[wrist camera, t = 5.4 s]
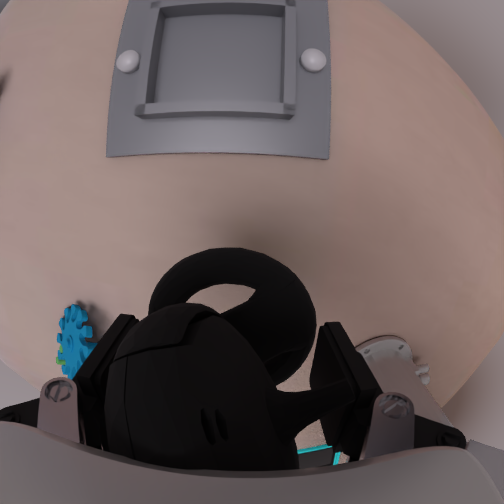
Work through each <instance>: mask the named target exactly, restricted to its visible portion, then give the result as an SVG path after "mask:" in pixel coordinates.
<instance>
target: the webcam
mask: <svg viewBox="0 0 504 504" xmlns="http://www.w3.org/2000/svg"><path fill="white" fill-rule="evenodd" d="M218 284H236V285H245V286H248V287H251V288H254V289H255V290H256V291H255V293H254V294H253V295H252V296H251V297H250V298H249V300H248V301H246V302H244V303H242V304H240V305H238V306H236V307H234V308H232V309H230V310H228V311H226V312H223V313H221V314H219V313H218V312H216V311H215V310H214V309H212V308H210V307H208V306H205V305H203V304H196V303H186V301H187V300H188V299H189V298H190V297H191V296H192V295H194V294H195V293H197V292H198V291H200V290H202V289H205V288H208V287H210V286H213V285H218ZM316 326H317V324H316V313H315V309H314V306H313V303H312V301H311V298H310V295H309V293H308V291H307V290H306V288H305V286H304V285H303V283H302V282H301V281H300V279H299V278H298V277H297V276H296V275H295V273H293V272H292V271H291V270H290V269H289V268H288V267H286V266H285V265H283V264H282V263H280V262H279V261H277V260H275V259H273V258H271V257H269V256H267V255H265V254H263V253H259V252H256V251H252V250H248V249H243V248H215V249H208V250H205V251H202V252H199V253H196V254H193V255H191V256H189V257H186V258H184V259H183V260H181V261H180V262H178V263H177V264H175V265H174V266H173V267H172V268H171V269H170V270H169V271H168V272H166V273H165V274H164V276H163V277H162V278H161V280H160V281H159V282H158V284H157V286H156V287H155V289H154V292H153V294H152V296H151V300H150V304H149V311H148V316H147V317H145V318H144V319H142V320H141V321H139V322H138V323H137V324H136V325H134V326H133V327H132V328H131V329H130V330H129V332H128V333H127V335H126V336H125V338H124V339H123V341H122V342H121V344H120V346H119V347H118V349H117V352H116V355H115V358H114V361H113V363H112V364H111V365H110V368H109V374H108V381H107V388H106V396H105V404H104V410H103V413H102V416H101V423H100V437H101V444H102V448H103V451H106V452H110V453H113V454H117V455H121V456H125V457H127V458H130V459H132V460H136V461H140V462H143V463H148V464H152V465H157V466H163V467H168V468H175V469H185V470H203V469H206V470H220V471H281V470H296V469H300V467H299V457H298V452H297V446H296V443H295V439H294V438H295V437H296V436H297V434H298V433H299V432H300V431H302V430H303V429H304V428H305V427H306V426H308V425H310V424H311V423H313V422H315V421H317V420H318V419H320V418H322V417H323V416H325V415H327V414H329V413H331V412H333V411H335V410H337V409H339V408H341V407H343V406H345V405H347V404H349V403H351V402H353V401H355V400H356V399H355V396H354V393H353V390H352V387H351V385H350V383H349V381H348V379H347V378H345V379H342V380H339V381H336V382H333V383H330V384H327V385H324V386H321V387H318V388H315V389H312V390H307V391H301V392H283V391H280V390H277V388H276V385H278V384H280V383H282V382H284V381H285V380H287V379H288V378H289V377H291V376H292V375H293V374H294V373H295V372H296V371H297V370H298V369H299V368H300V367H301V365H302V364H303V362H304V361H305V360H306V358H307V356H308V354H309V352H310V350H311V348H312V346H313V343H314V338H315V334H316Z"/></svg>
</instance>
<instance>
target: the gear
mask: <svg viewBox="0 0 504 504" xmlns="http://www.w3.org/2000/svg"><path fill="white" fill-rule="evenodd" d="M64 314H65V318H61V319H60V321H59V326H60V327H61V330H62V334H61V333H58V335H57V342H58V343H60V344H61V345H60V350H58V357H56V363H57V364H62V372H63V374H65V375H68V378H69V379H71V380H72V379H73V378H74V376H75V374H76V373H77V371H78V370H79V368H80V367H81V366H82V364H83V363H84V361H85V360H86V359H87V357H88V356H89V354H90V353H91V352H92V350H93V349H94V348H95V346H96V345H97V344H98V343H91V342H87V341H86V340H85V337H88V338H91V337H92V327H91V326H83V328H82V322H83V321H84V322H86V321H87V319H88V316H87V312H86V311H85V310H81V308H80V306H78V305H75V304H72V306H71V309H70V308H66V309H65V310H64Z"/></svg>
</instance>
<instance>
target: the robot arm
mask: <svg viewBox="0 0 504 504" xmlns="http://www.w3.org/2000/svg"><path fill="white" fill-rule="evenodd" d="M138 322H139V320H138V319H136V318H135V316H134V315H127V314H120V315H119V316H118V317H117V319H116V320H115V321H114V322H113V324H112V325H111V326H110V328H109V329H108V330H107V332H106V333H105V334H104V336H103V337H102V338H101V340H100V341H99V342H98V344H97V345H96V346H95V348H94V349H93V350H92V352H91V353H90V354H89V356H88V357H87V359H86V360H85V361H84V363H83V364H82V366H81V367H80V368H79V370H78V371H77V373H76V374H75V376H74V378H73V379H72V380H71V379H69V378H65V377H58V378H53V379H51V380H49V381H48V382H46V383H45V384H44V385H43V387H42V389H41V394H40V398H37V399H34V400H31V401H27V402H24V403H20V404H16V405H13V406H9V407H5V408H3V409H1V410H0V504H504V451H503V450H500V449H497V448H494V447H491V446H488V445H485V444H482V443H479V442H476V441H474V440H470V441H469V442H466V439H465V436H464V435H463V433H462V432H461V431H459V430H458V429H456V428H454V427H453V426H452V424H451V423H450V421H449V420H448V418H447V417H446V415H445V414H444V412H443V411H442V410H441V408H440V407H439V405H438V404H437V402H436V401H435V400H434V398H433V397H432V395H431V394H430V393H429V391H428V390H427V388H426V387H425V386H424V385H427V384H428V383H429V381H430V376H429V374H427V373H425V372H428V371H429V365H428V364H422V365H419V366H417V365H415V364H414V362H413V361H412V351H411V349H410V347H409V345H408V344H407V343H406V342H405V341H404V340H402V339H401V338H398V337H395V336H383V337H378V338H375V339H372V340H370V341H367V342H365V343H363V344H362V345H360V346H358V347H357V348H355V347H354V346H353V344H352V342H351V340H350V339H349V337H348V335H347V334H346V332H345V330H344V328H343V327H342V325H341V323H340V322H326V323H325V324H324V326H320V328H319V333H318V338H317V344H316V349H315V354H314V359H313V364H312V368H311V373H310V379H309V380H310V387H311V390H312V389H315V388H318V387H321V386H324V385H327V384H330V383H333V382H336V381H339V380H342V379H345V378H347V379H348V381H349V383H350V385H351V387H352V390H353V393H354V396H355V399H356V400H355V401H353V402H351V403H349V404H347V405H345V406H343V407H341V408H339V409H337V410H335V411H333V412H331V413H329V414H327V415H325V416H323V417H322V418H320V422H321V426H322V429H323V433H324V436H325V440H326V443H327V446H332V449H333V453H338V452H343V453H344V454H346V455H348V456H347V460H346V463H343V464H336V465H330V466H323V467H315V468H306V469H296V470H281V471H220V470H206V469H203V470H185V469H175V468H168V467H163V466H157V465H152V464H148V463H143V462H140V461H136V460H132V459H130V458H127V457H125V456H121V455H117V454H113V453H110V452H106V451H103V448H102V444H101V437H100V423H101V416H102V413H103V410H104V404H105V396H106V388H107V381H108V374H109V368H110V365H111V364H112V363H113V361H114V358H115V355H116V352H117V349H118V347H119V346H120V344H121V342H122V341H123V339H124V338H125V336H126V335H127V333H128V332H129V330H130V329H131V328H132V327H133V326H134V325H136V324H137V323H138ZM421 373H425V374H421ZM419 374H420V375H419Z"/></svg>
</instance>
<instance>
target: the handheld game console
mask: <svg viewBox="0 0 504 504" xmlns="http://www.w3.org/2000/svg"><path fill="white" fill-rule="evenodd" d="M297 452H298V457H299V467H300V469H306V468H315V467H323V466H330V465H336V464H338V461H339V456H340V452H338V453H333V449H332V446H327V444H325V445H321V446H316V447H311V448H306V449H300V450H297Z"/></svg>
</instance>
